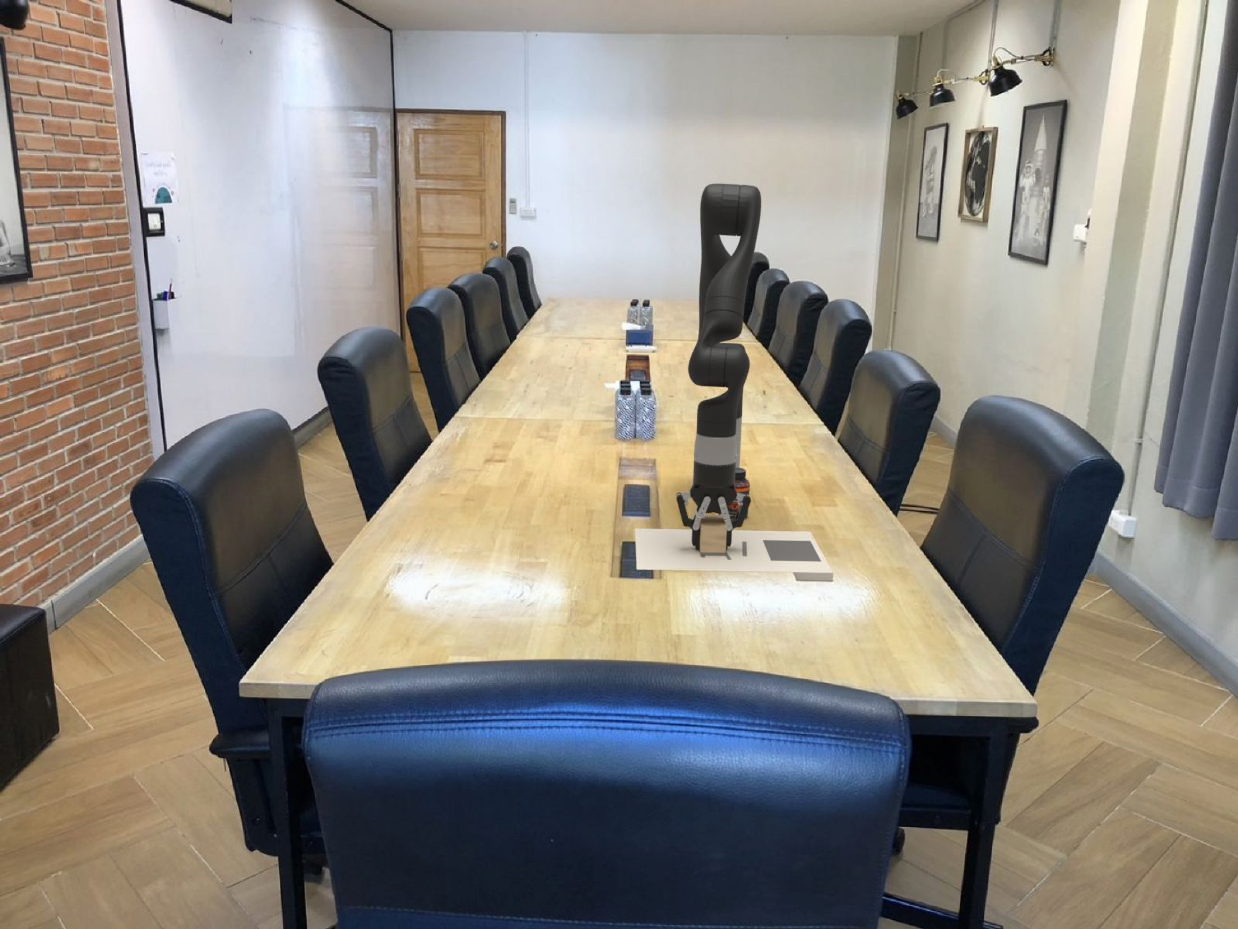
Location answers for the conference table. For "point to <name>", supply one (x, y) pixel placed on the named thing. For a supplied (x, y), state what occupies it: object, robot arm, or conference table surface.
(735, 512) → the supplement bottle
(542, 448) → the conference table surface
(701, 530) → the block
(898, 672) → the conference table surface
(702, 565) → the board
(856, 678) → the conference table surface
